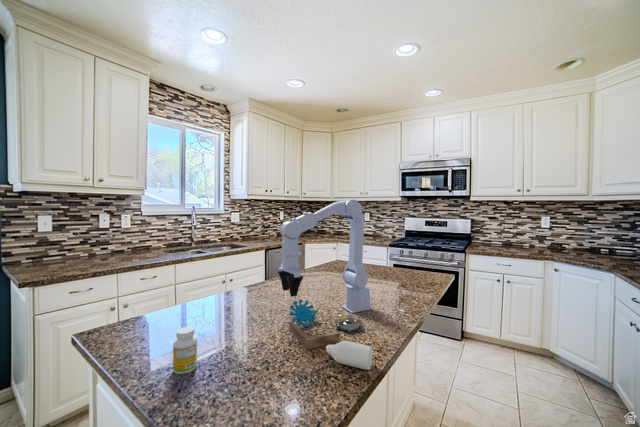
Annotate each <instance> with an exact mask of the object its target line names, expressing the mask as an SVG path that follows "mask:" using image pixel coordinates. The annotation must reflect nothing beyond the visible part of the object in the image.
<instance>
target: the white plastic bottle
mask: <svg viewBox="0 0 640 427" xmlns="http://www.w3.org/2000/svg"><path fill="white" fill-rule="evenodd" d="M325 349H326V353H328V354H329V355H330V356H331V357H332V358H333V359H334V360H335V362H337V363H339V364H342V365H345V366H348V367H349V366H350V367H353V368H357V369H362V370H366V371H370V370H371V368H372V364H373V347H372V346H371V345H370V346H369V345H366V344H362V343H357V342H353V341H348V340H343V341H339V342H336V343H335V344H334V343H333V344H327V345H325Z"/></svg>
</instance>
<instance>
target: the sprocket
mask: <svg viewBox="0 0 640 427" xmlns="http://www.w3.org/2000/svg"><path fill="white" fill-rule="evenodd" d="M362 322H363V320H361V319H360V318H353V317H350V316H346V317H345V314H344V313H339V314H338V318H336V319H335V329H336V330H340V331H343V332H347V333H348V334H349V333H354V332H357V331H360V330H361V331H363V330H364V325H363V323H362Z"/></svg>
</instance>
